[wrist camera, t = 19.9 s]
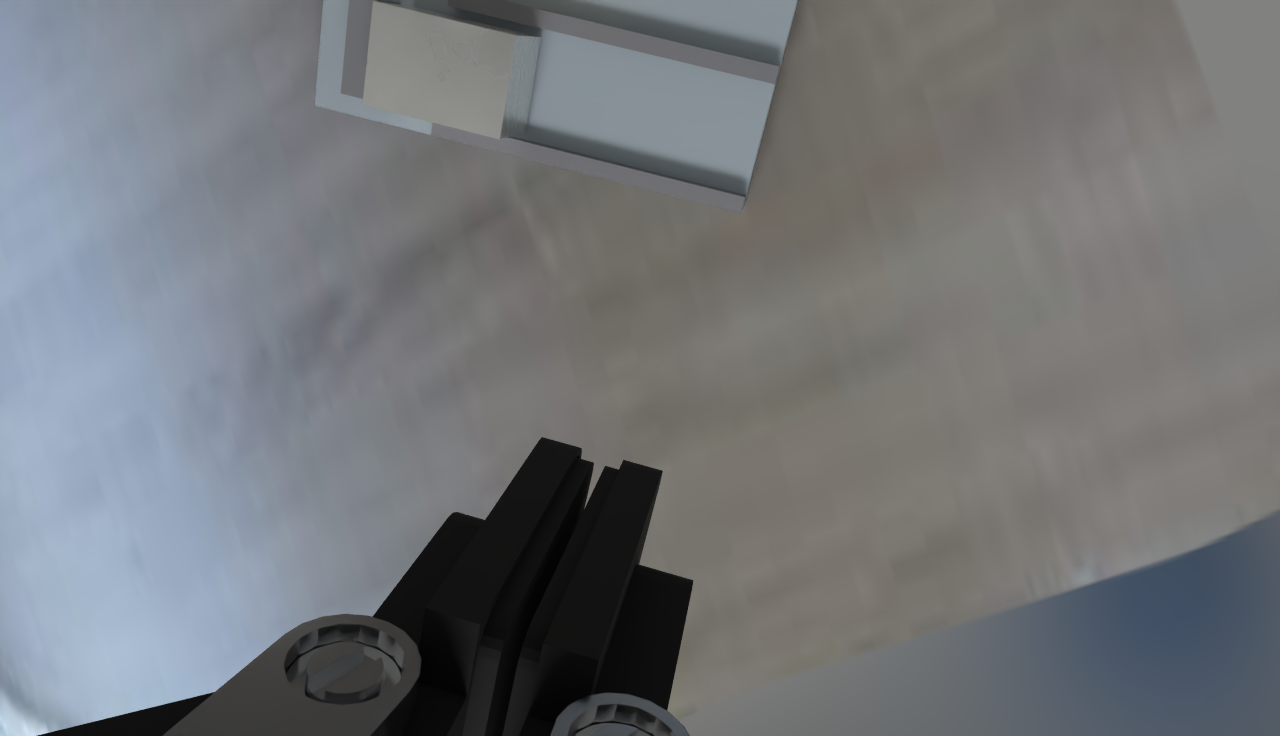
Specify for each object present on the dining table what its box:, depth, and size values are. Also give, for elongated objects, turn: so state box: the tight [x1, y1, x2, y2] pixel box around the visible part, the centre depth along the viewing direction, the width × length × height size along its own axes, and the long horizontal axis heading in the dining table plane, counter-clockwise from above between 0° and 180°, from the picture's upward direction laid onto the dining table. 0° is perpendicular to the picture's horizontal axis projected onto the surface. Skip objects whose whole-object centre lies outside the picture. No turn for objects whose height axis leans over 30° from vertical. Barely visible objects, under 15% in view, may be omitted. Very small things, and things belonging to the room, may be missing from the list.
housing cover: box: [362, 1, 541, 139], centre depth 31 cm, size 5×3×3 cm
